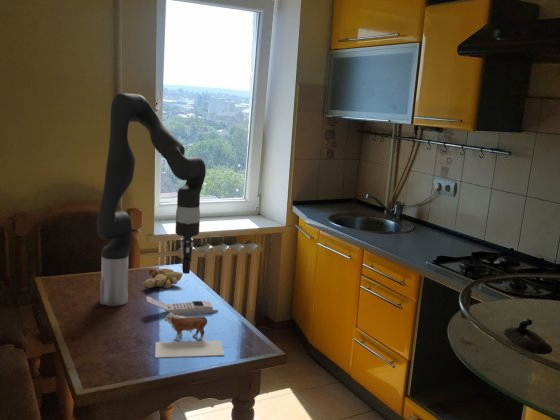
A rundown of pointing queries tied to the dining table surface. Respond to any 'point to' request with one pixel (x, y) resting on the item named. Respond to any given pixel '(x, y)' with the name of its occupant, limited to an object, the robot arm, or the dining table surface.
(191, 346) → the mat
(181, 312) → the mobile phone
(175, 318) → the bull figurine
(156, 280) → the ginger root
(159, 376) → the dining table surface
